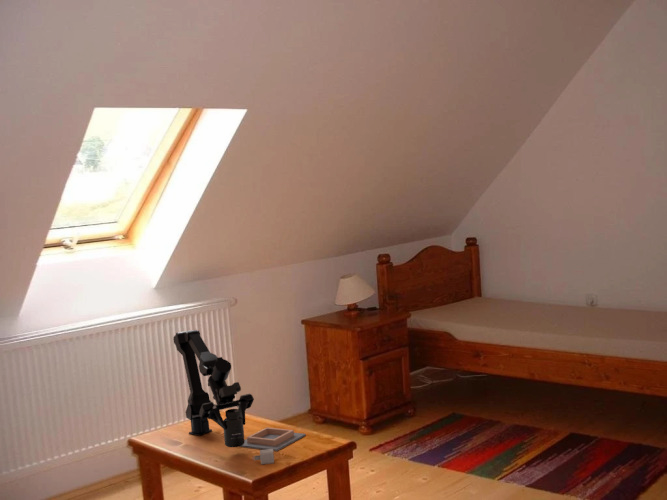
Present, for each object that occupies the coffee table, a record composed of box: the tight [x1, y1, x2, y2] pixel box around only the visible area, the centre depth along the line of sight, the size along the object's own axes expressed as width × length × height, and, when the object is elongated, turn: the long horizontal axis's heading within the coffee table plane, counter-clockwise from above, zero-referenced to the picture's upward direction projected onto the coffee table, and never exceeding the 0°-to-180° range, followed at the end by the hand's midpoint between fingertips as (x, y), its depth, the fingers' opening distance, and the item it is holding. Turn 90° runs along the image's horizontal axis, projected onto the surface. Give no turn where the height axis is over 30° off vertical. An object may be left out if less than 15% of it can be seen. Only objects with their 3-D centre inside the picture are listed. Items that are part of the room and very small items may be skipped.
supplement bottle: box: [223, 408, 245, 448], centre depth 273 cm, size 7×7×12 cm
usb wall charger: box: [252, 449, 275, 465], centre depth 262 cm, size 4×7×4 cm, turn 95°
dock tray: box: [238, 427, 306, 452], centre depth 285 cm, size 18×18×3 cm
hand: (235, 426), depth 272 cm, fingers closed on supplement bottle, 7 cm apart
